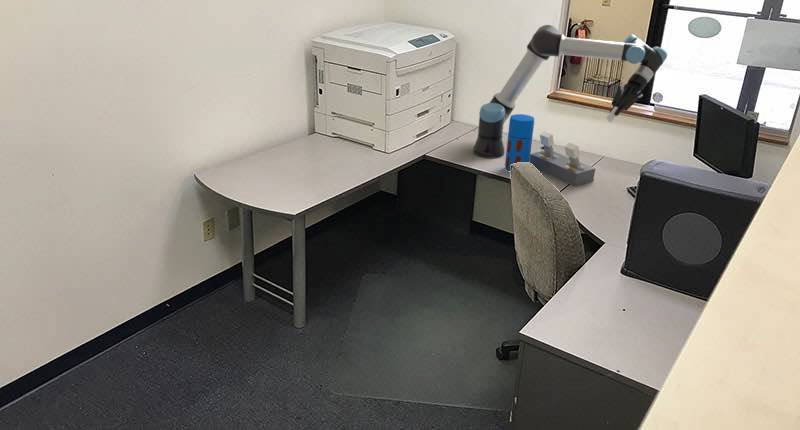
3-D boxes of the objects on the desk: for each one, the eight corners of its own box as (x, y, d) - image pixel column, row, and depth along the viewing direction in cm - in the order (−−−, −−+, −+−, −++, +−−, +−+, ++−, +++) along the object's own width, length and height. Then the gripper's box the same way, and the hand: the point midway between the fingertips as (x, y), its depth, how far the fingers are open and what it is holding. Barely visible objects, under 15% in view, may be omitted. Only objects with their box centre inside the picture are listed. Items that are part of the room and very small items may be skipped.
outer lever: (568, 165, 277) (564, 146, 270) (573, 161, 278) (569, 142, 271) (577, 169, 273) (573, 150, 267) (582, 165, 274) (578, 146, 268)
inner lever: (542, 154, 289) (539, 134, 283) (547, 151, 290) (544, 131, 284) (550, 157, 285) (547, 137, 279) (555, 154, 286) (552, 134, 280)
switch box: (529, 165, 292) (530, 151, 289) (547, 161, 298) (549, 146, 295) (574, 186, 271) (577, 171, 268) (593, 181, 277) (595, 165, 274)
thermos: (527, 175, 281) (534, 122, 270) (503, 173, 283) (509, 120, 272) (528, 167, 291) (534, 115, 280) (505, 164, 292) (510, 113, 281)
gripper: (655, 86, 275) (623, 129, 274) (631, 80, 285) (600, 121, 284) (650, 76, 270) (617, 119, 269) (625, 70, 280) (594, 111, 279)
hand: (608, 120), depth 276 cm, fingers closed
